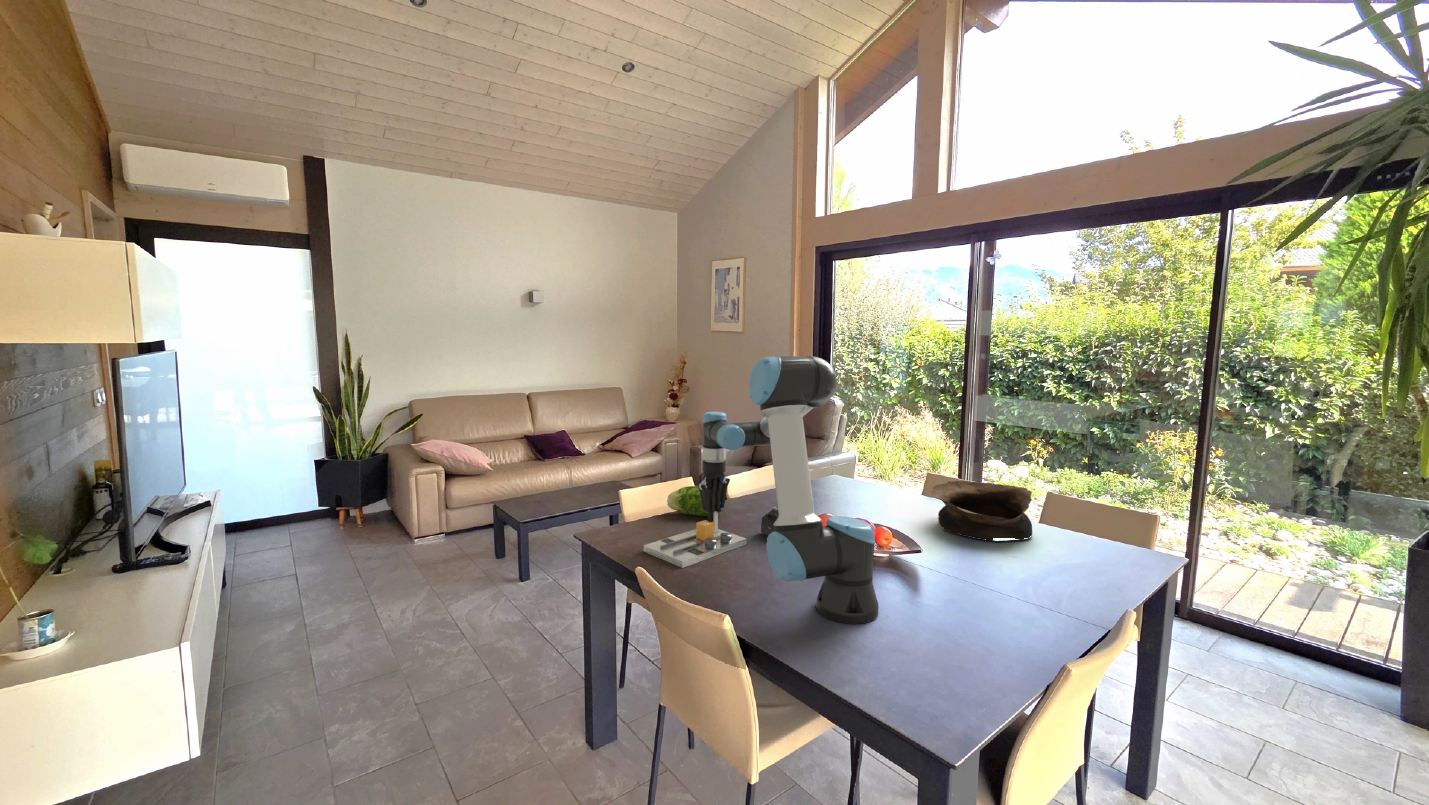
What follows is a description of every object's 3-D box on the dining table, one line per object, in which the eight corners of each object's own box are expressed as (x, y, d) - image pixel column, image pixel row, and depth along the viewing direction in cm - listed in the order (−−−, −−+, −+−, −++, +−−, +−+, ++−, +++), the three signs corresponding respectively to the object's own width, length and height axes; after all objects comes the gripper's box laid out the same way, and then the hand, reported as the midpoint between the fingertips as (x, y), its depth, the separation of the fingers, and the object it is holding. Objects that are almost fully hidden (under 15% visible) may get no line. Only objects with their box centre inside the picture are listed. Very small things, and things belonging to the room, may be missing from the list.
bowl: (1053, 551, 199) (1057, 508, 196) (952, 555, 199) (954, 512, 196) (1004, 511, 233) (1006, 473, 230) (917, 514, 233) (918, 477, 230)
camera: (803, 536, 205) (804, 508, 204) (790, 545, 197) (791, 515, 196) (769, 529, 213) (769, 501, 212) (754, 537, 205) (755, 508, 203)
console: (746, 544, 197) (746, 531, 197) (682, 568, 177) (682, 553, 177) (707, 530, 210) (707, 518, 209) (643, 551, 190) (643, 537, 189)
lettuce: (669, 509, 234) (669, 481, 232) (722, 511, 232) (723, 482, 231) (664, 519, 222) (664, 488, 221) (721, 520, 221) (721, 490, 220)
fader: (713, 538, 196) (713, 522, 195) (704, 541, 193) (705, 525, 193) (705, 535, 199) (705, 519, 198) (696, 537, 196) (696, 522, 195)
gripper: (720, 455, 203) (719, 523, 206) (691, 460, 194) (690, 532, 197) (736, 458, 197) (735, 529, 200) (707, 464, 188) (706, 538, 191)
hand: (713, 530), depth 198 cm, fingers closed
